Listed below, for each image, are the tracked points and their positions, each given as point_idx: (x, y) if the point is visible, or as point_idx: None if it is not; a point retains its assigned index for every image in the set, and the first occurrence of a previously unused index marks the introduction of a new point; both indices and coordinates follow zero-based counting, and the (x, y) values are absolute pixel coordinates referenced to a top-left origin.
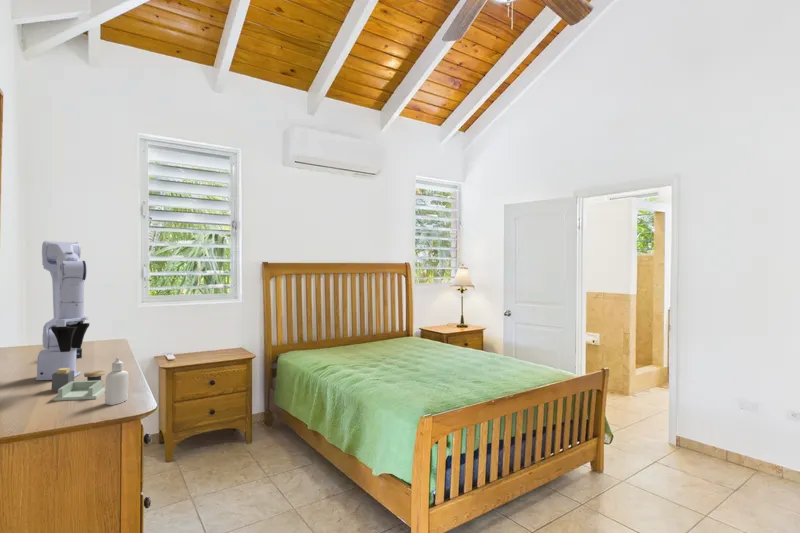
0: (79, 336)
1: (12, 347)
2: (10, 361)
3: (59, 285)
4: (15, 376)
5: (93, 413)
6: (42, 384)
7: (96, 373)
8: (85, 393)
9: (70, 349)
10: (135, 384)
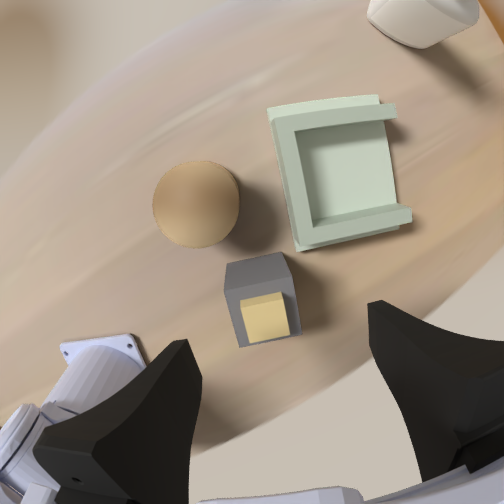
0: (163, 403)
1: None
2: None
3: None
4: None
5: (478, 59)
6: None
7: (211, 185)
8: (351, 147)
9: (372, 306)
10: (167, 53)
